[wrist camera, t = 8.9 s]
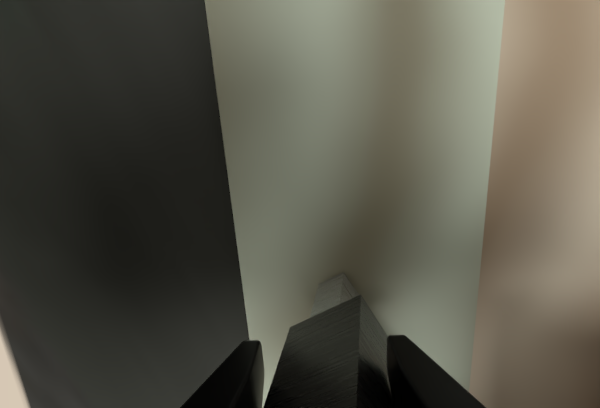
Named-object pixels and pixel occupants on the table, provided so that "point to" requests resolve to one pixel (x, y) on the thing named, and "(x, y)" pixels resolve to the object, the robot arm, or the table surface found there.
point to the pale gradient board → (423, 178)
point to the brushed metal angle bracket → (333, 355)
